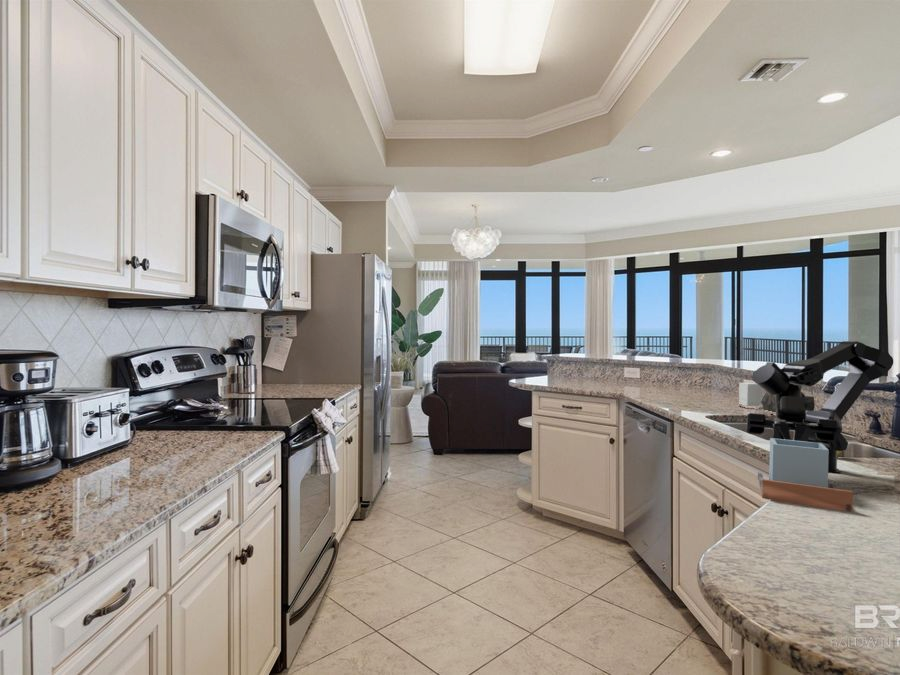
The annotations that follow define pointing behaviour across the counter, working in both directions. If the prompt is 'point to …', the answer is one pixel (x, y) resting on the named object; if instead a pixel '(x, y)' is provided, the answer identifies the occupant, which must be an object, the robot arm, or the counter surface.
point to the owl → (770, 401)
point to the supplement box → (750, 394)
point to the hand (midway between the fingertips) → (792, 455)
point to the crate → (798, 462)
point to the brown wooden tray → (806, 494)
